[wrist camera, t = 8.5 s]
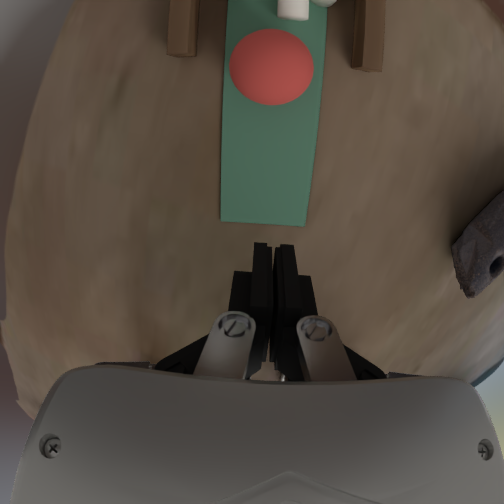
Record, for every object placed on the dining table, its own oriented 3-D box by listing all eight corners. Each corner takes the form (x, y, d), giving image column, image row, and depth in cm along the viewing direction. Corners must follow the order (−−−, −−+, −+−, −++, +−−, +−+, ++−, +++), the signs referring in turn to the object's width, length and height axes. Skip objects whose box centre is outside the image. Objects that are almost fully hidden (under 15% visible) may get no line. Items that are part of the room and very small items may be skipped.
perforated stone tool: (508, 164, 22) (547, 188, 16) (520, 193, 24) (554, 219, 18) (431, 250, 29) (459, 288, 23) (448, 272, 31) (474, 309, 25)
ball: (327, 82, 15) (314, 113, 21) (309, 11, 14) (302, 52, 20) (227, 90, 15) (238, 120, 21) (220, 19, 15) (231, 58, 21)
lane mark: (304, 225, 28) (304, 226, 28) (220, 220, 28) (220, 221, 28) (328, -69, 12) (328, -70, 12) (235, -77, 12) (235, -78, 12)
